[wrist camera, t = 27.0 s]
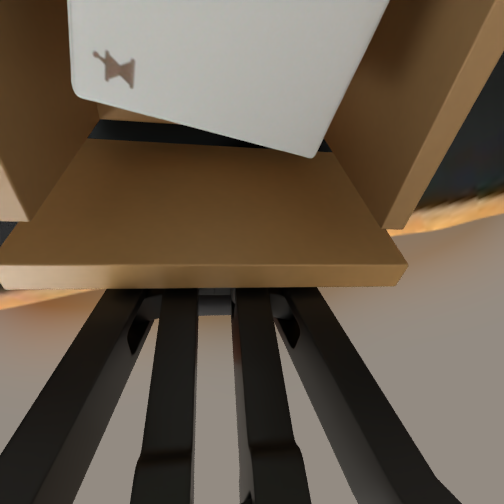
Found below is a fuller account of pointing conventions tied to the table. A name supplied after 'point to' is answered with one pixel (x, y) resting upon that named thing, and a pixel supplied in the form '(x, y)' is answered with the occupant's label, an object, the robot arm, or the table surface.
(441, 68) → the drawer
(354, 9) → the product box
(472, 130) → the table surface
